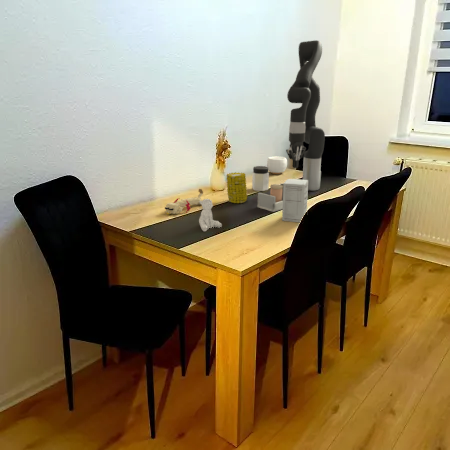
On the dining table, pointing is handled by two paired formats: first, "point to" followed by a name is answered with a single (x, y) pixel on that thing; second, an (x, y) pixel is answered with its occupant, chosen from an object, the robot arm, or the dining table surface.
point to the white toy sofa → (269, 202)
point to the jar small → (276, 191)
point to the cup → (277, 164)
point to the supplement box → (294, 199)
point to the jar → (260, 178)
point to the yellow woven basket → (236, 187)
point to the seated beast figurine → (207, 216)
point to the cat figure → (183, 204)
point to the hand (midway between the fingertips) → (295, 167)
